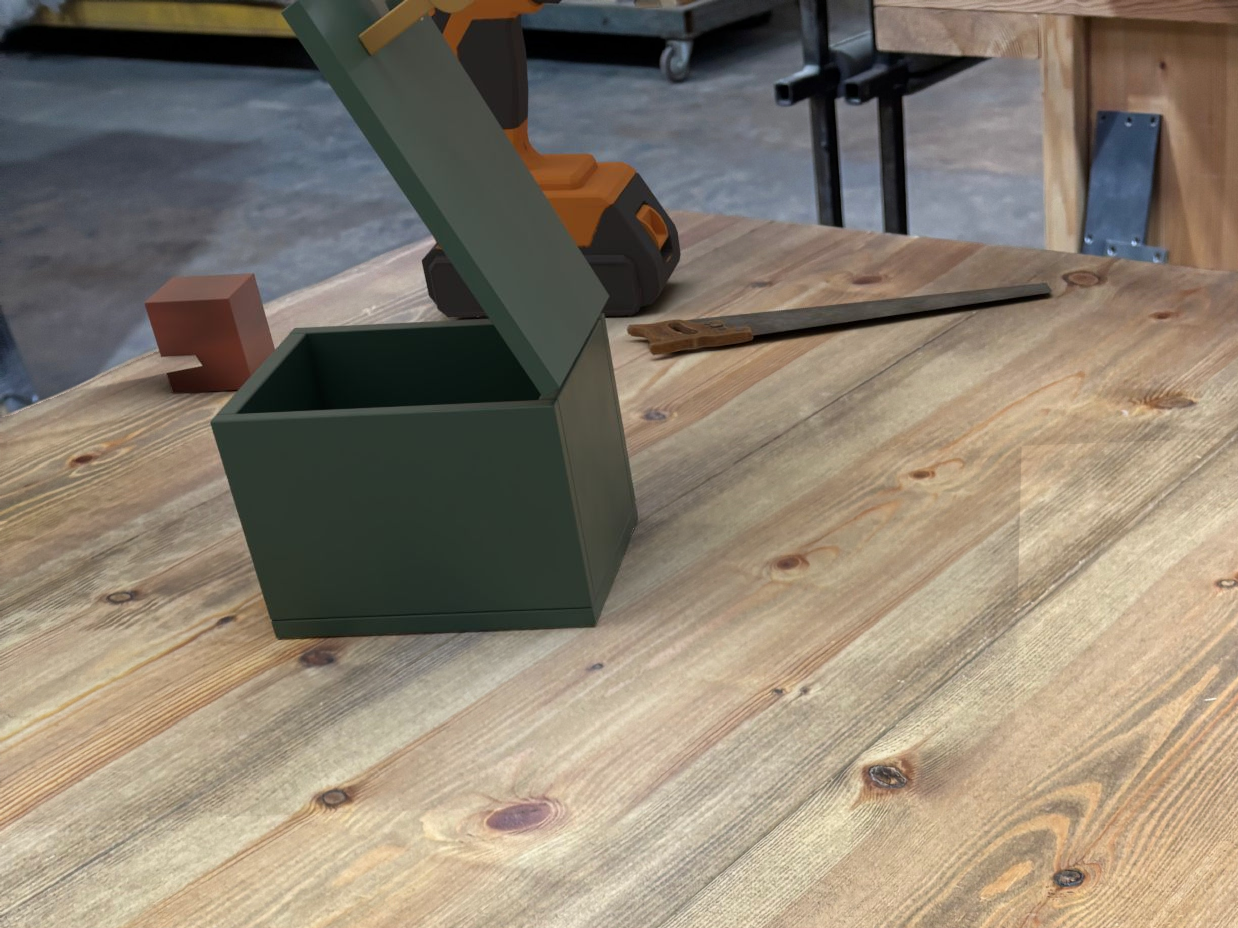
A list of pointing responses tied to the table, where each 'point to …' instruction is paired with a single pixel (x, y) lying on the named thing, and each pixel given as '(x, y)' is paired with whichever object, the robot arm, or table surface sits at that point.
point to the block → (211, 329)
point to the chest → (427, 481)
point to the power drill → (556, 174)
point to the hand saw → (806, 318)
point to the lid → (458, 173)
